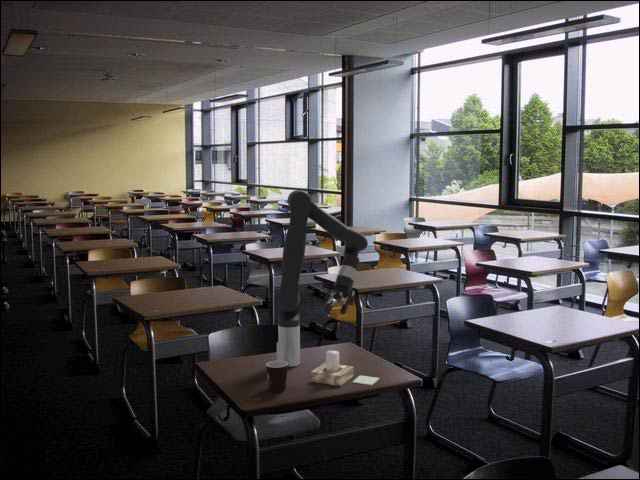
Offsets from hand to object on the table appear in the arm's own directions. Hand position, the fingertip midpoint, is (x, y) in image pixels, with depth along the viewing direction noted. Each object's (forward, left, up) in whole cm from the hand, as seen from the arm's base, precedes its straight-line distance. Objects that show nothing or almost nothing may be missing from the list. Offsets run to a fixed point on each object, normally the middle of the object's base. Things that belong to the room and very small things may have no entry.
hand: (334, 313), depth 265 cm
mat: (+16, -6, -25) cm, 30 cm away
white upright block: (+3, -10, -25) cm, 27 cm away
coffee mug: (-12, -27, -25) cm, 39 cm away
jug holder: (+3, -9, -25) cm, 26 cm away
